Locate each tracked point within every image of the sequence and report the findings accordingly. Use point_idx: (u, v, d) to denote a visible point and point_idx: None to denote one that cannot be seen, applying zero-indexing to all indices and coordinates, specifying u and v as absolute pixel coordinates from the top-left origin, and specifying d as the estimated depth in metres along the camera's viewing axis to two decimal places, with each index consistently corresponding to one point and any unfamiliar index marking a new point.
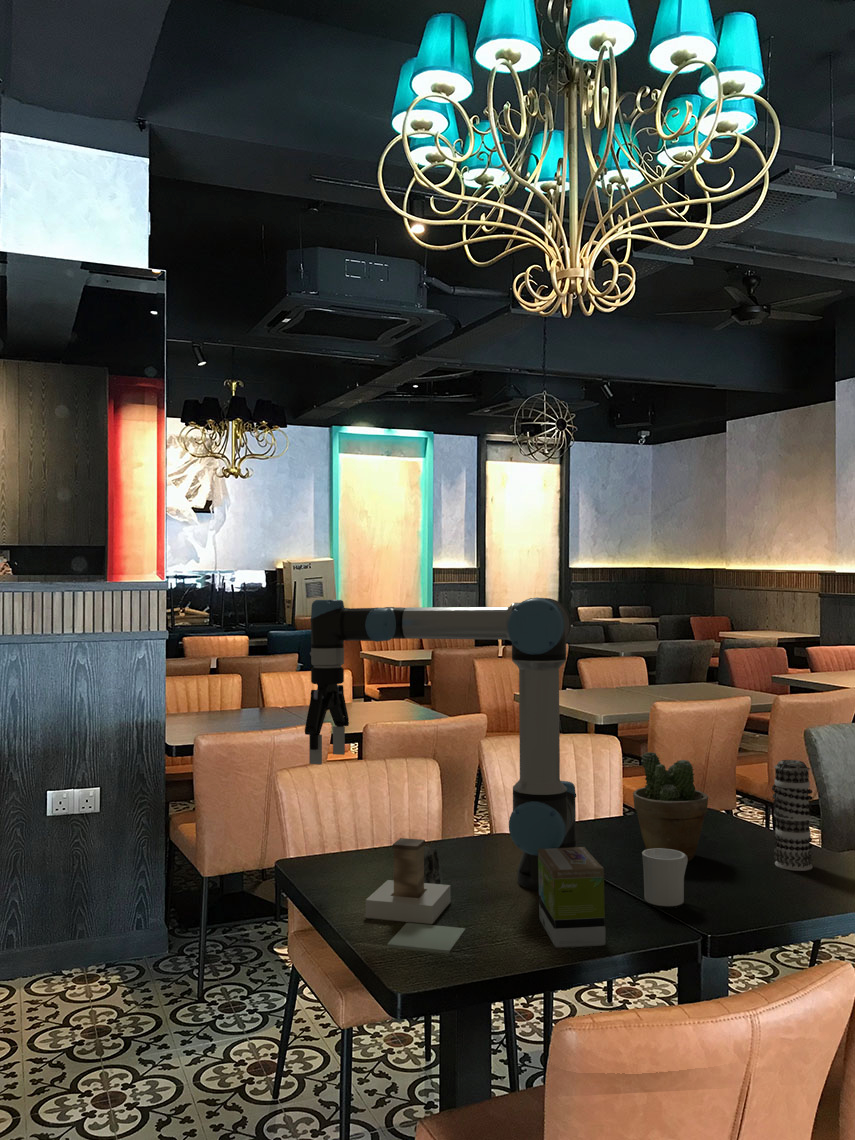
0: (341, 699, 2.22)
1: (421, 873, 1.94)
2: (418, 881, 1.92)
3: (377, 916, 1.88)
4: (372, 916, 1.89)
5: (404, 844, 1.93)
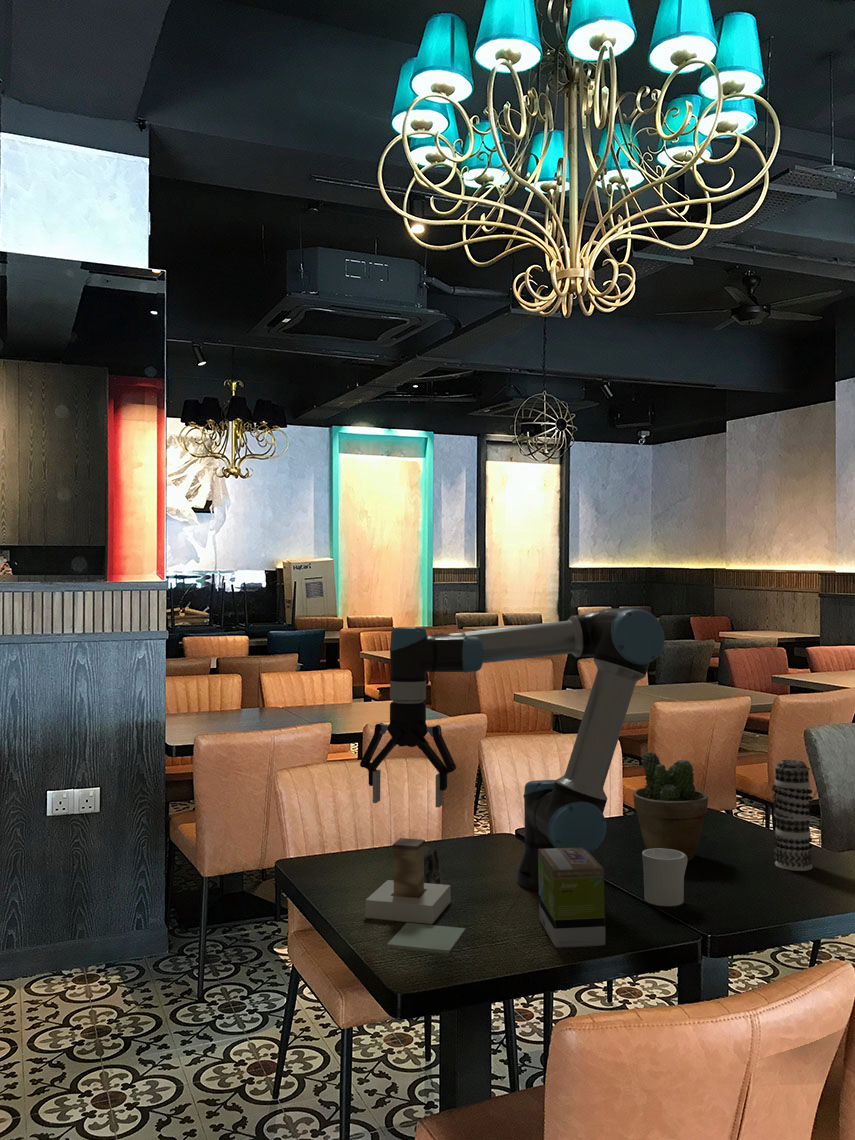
0: None
1: (421, 873, 1.94)
2: (418, 881, 1.92)
3: (377, 916, 1.88)
4: (372, 916, 1.89)
5: (404, 844, 1.93)
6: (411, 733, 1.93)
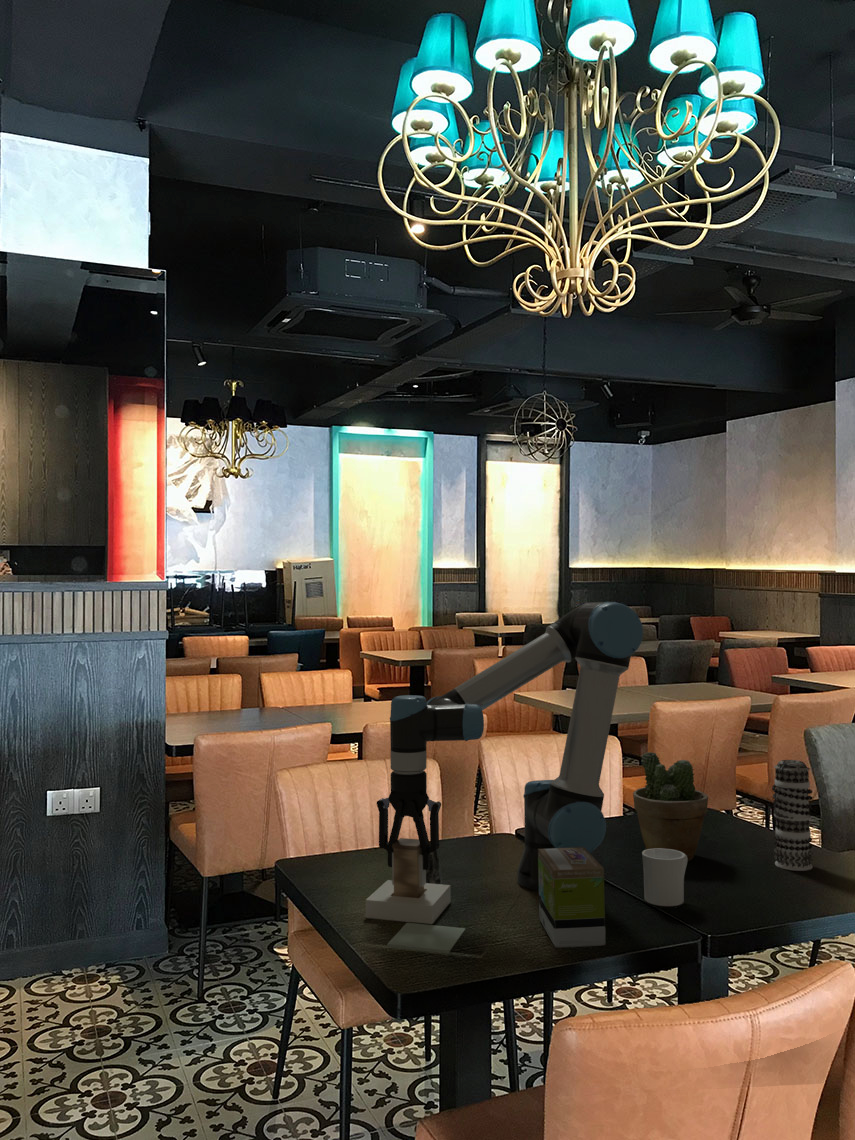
0: None
1: None
2: (418, 881, 1.92)
3: (377, 916, 1.88)
4: (372, 916, 1.89)
5: (404, 844, 1.93)
6: (412, 804, 1.92)
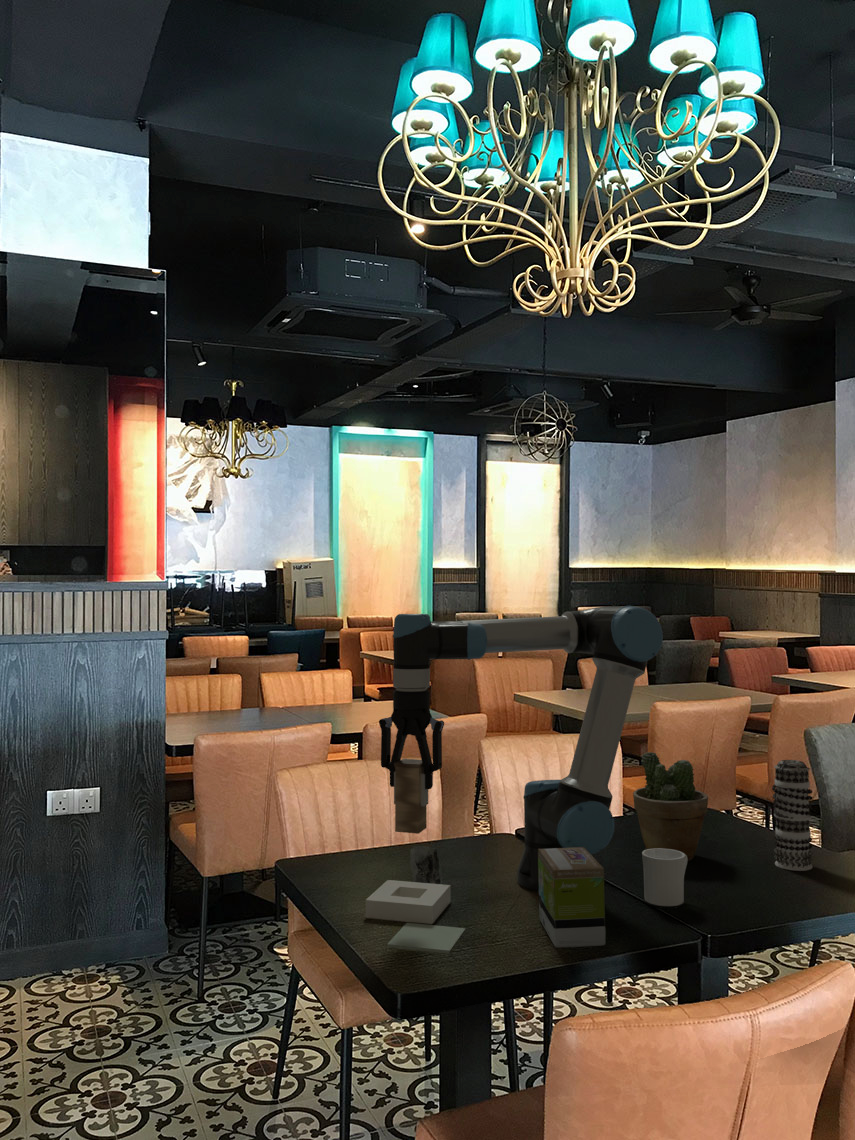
0: None
1: None
2: (420, 800, 1.89)
3: (377, 916, 1.88)
4: (372, 916, 1.89)
5: (406, 763, 1.89)
6: (414, 722, 1.89)
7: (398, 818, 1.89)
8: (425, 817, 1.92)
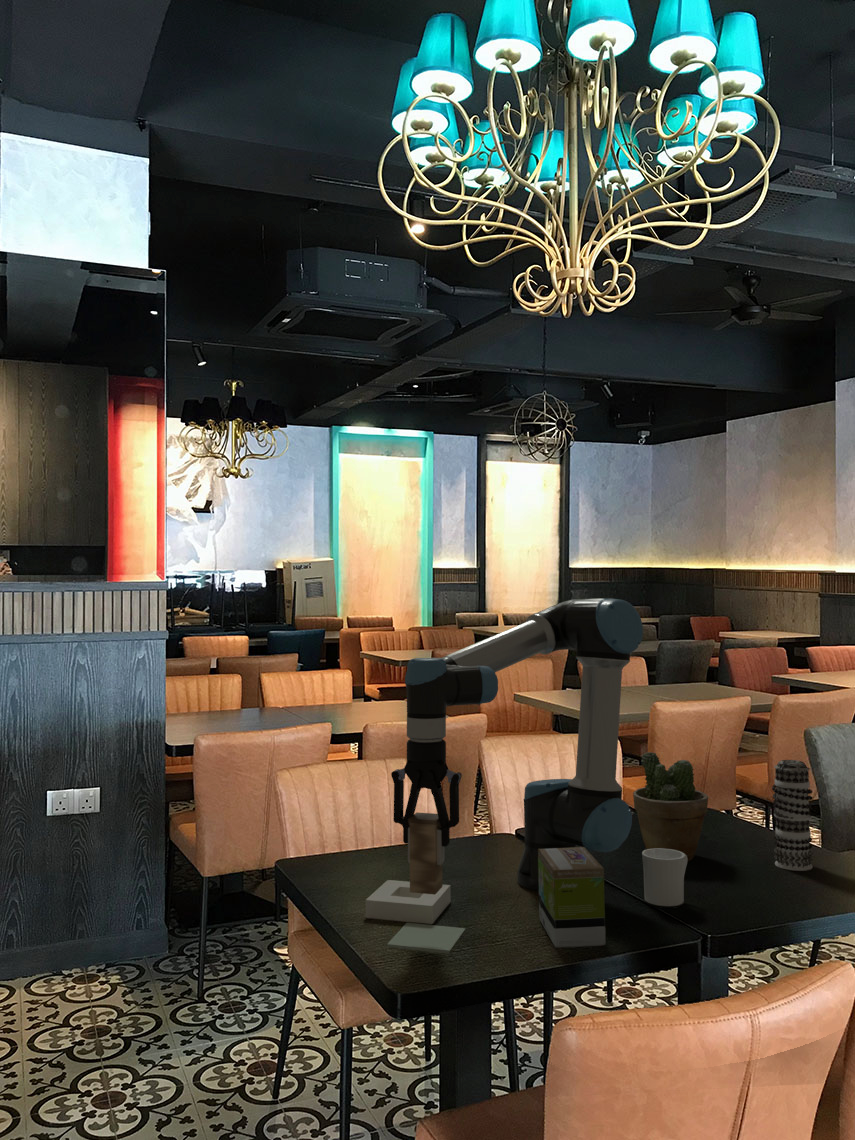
0: None
1: None
2: (436, 858, 1.77)
3: (377, 916, 1.88)
4: (372, 916, 1.89)
5: (421, 818, 1.77)
6: (430, 775, 1.77)
7: (413, 878, 1.77)
8: (441, 875, 1.80)
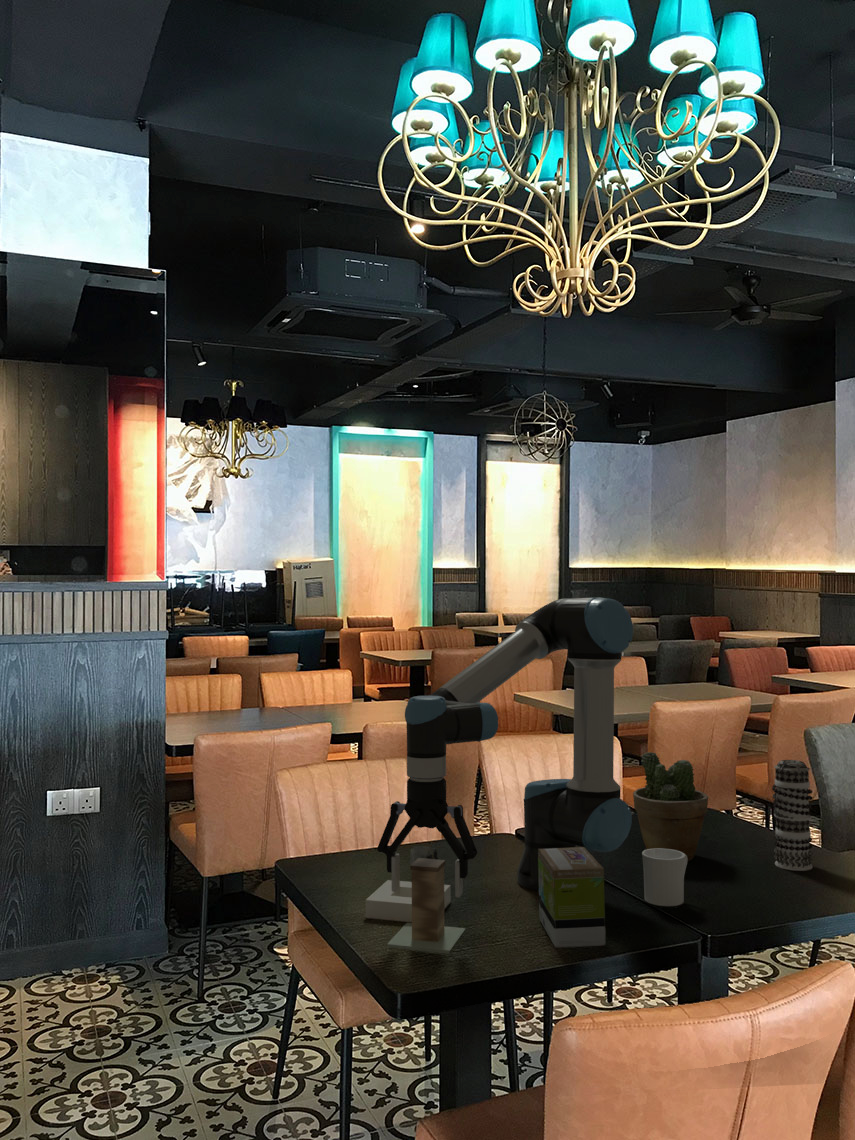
0: None
1: (441, 896, 1.78)
2: (438, 905, 1.76)
3: (377, 916, 1.88)
4: (372, 916, 1.89)
5: (423, 865, 1.77)
6: (430, 814, 1.77)
7: (415, 925, 1.76)
8: (443, 922, 1.79)
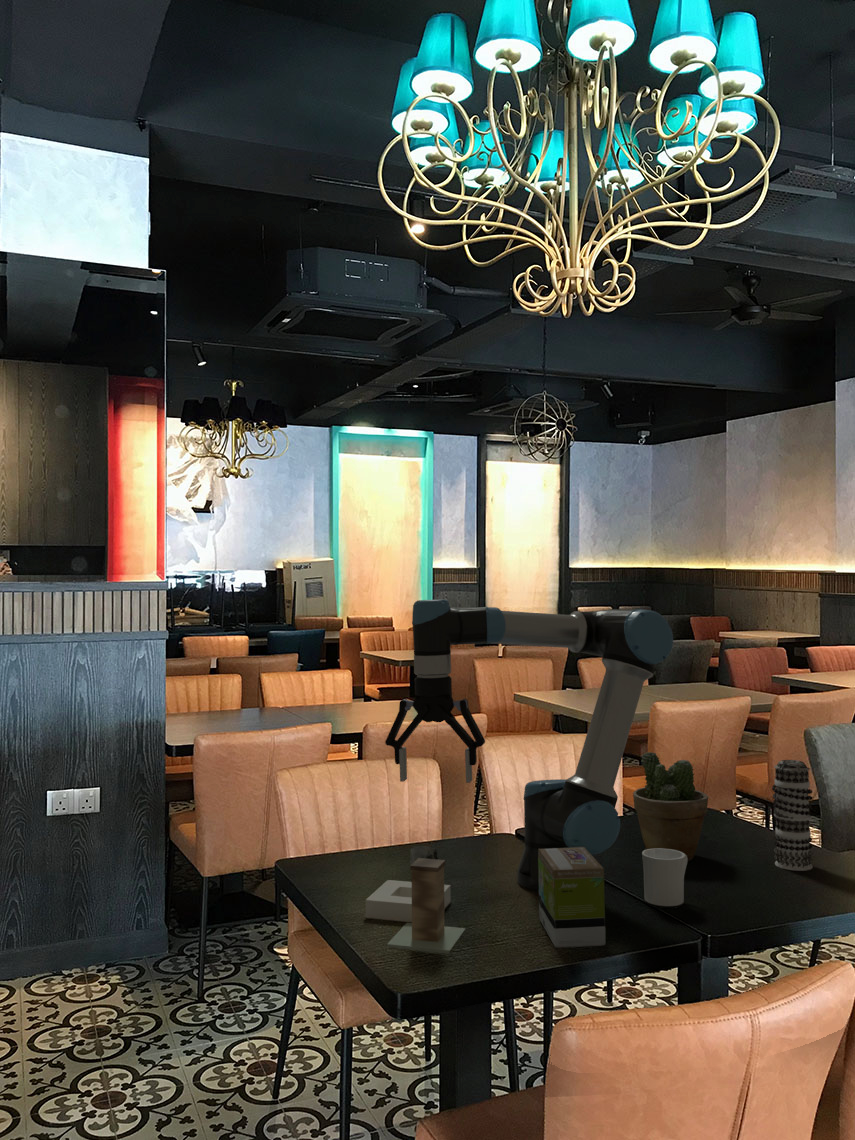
0: None
1: (441, 896, 1.78)
2: (438, 905, 1.76)
3: (377, 916, 1.88)
4: (372, 916, 1.89)
5: (423, 865, 1.77)
6: (438, 708, 1.88)
7: (415, 925, 1.76)
8: (443, 922, 1.79)
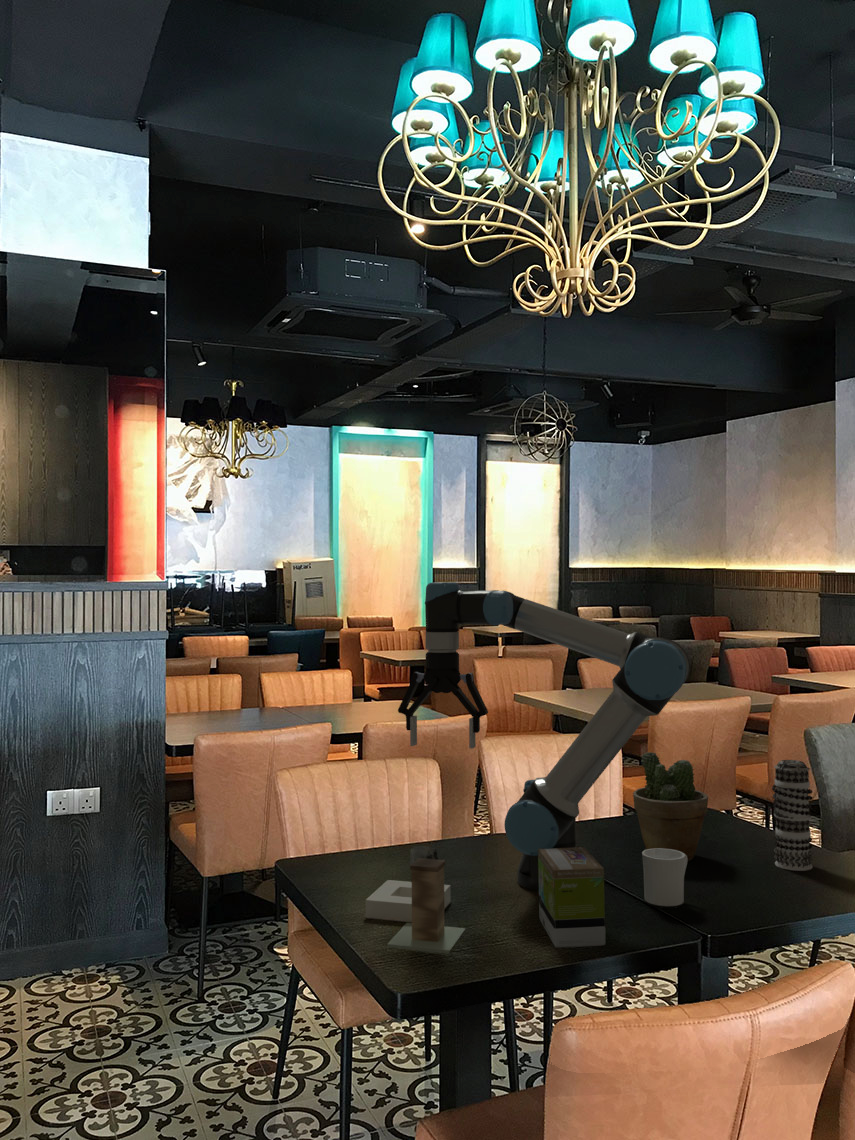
0: None
1: (441, 896, 1.78)
2: (438, 905, 1.76)
3: (377, 916, 1.88)
4: (372, 916, 1.89)
5: (423, 865, 1.77)
6: (446, 680, 2.08)
7: (415, 925, 1.76)
8: (443, 922, 1.79)
